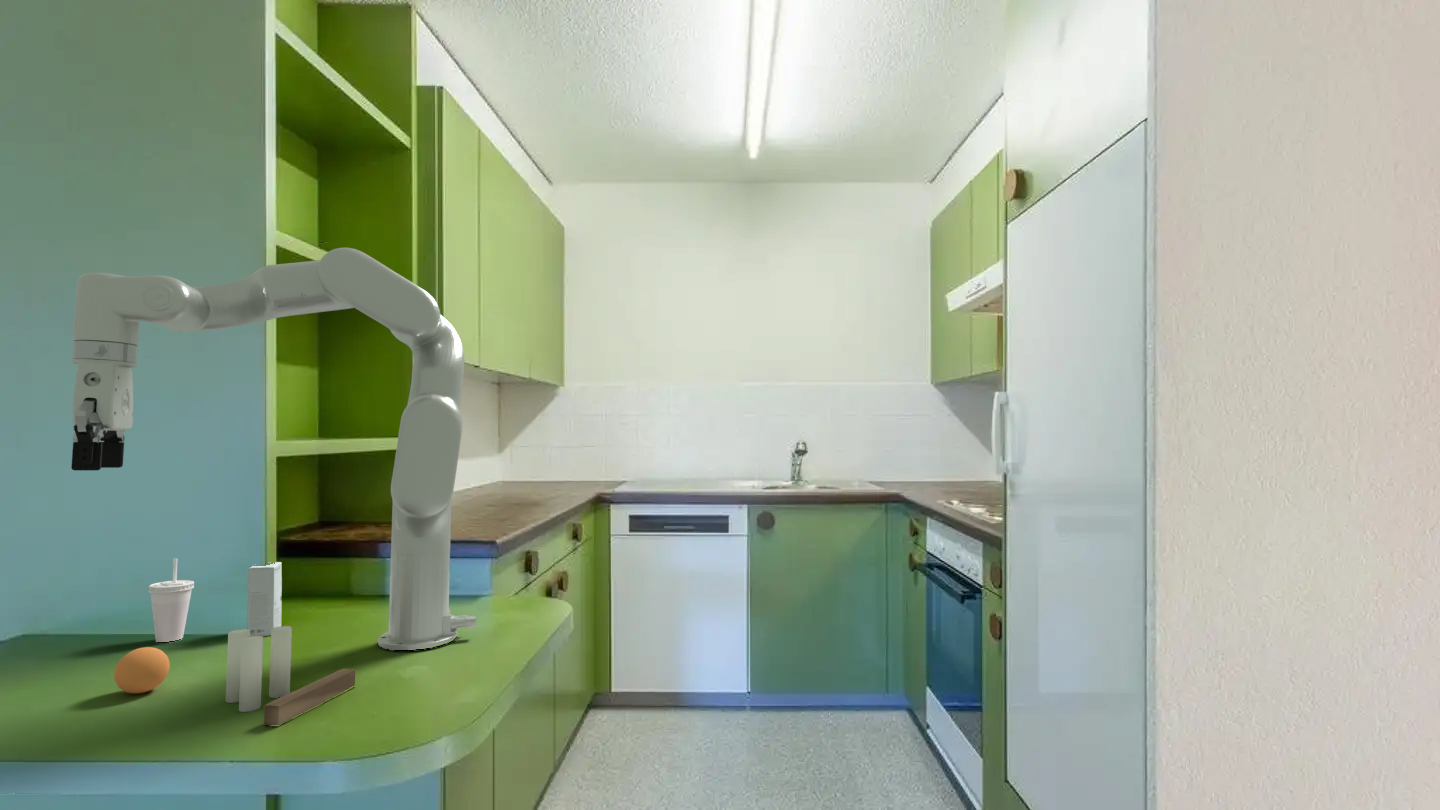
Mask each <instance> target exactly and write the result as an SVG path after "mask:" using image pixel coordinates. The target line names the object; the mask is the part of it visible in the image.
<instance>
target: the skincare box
mask: <svg viewBox="0 0 1440 810" xmlns="http://www.w3.org/2000/svg"><path fill="white" fill-rule="evenodd" d="M274 562H275V564H274V563H273V564H270V565H266V566H253V565H251V566H252V567H251V566H250V567H248V569H247V600H246V601H247V605H246V606H247V609H246V611H247V613H246V614H247V615H246V618H247V619H246V629H248V630H250V634H249V637H250V636H263V637H268V636H269V637H271V629H273V628H275V627H280V626H282V614H283V613H282V611H283V610H282V608H283V607H282V606H283V605H282V602H283V601H282V593H283V592H282V591H283V589H282V588H283V586H282V585H283V577H282V575H283V574H282V572H283V571H282V568H283V567H282V564H283V563H282V561H274Z"/></svg>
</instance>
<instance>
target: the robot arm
mask: <svg viewBox="0 0 1440 810" xmlns="http://www.w3.org/2000/svg"><path fill="white" fill-rule="evenodd" d="M74 307H75V308H74V319H73V321H74V322H73V323H74V324H73V334H72V335H73V337H72V340H73V341H72V350H71V354H72V355H71V364H73V365H77V369H76V371H77V372H76V374H75V376H76V377H75V383H74V390H73V391H74V393H73V399H72V400H73V402H72V424H73V430H74V433H73V436H72V454H71V455H72V456H71V470H72V471H100V470H101V469H102V468H103V469H104V468H105V469H107V468H111V469H114V468H115V469H118V468H122V467H123V466H124V453H125V438H126V437H125V431H128V430H129V431H130V429H132V427H133V424H134V381H133V371H132V368H134V369H135V368H137V367H138V366H137V365H138V353H139V351H138V349H139V334H140V321H141V322H147V323H151V324H154V325H157V326H160V327H164V328H165V329H168V330H171V331H174V332H179V333H180V332H181V333H192V332H193V333H195V332H205V331H211V330H222V329H227V328H234V327H235V328H236V327H239V326H240V327H241V326H245V325H250V324H254V323H260V322H266V321H267V322H268V321H272V320H273V319H274V320H275V319H279V318H284V317H290V316H292V317H293V316H299V315H308V314H316V313H323V312H332V311H341V310H347V309H348V310H349V309H356V310H357V311H359V312H361V313H362V314H364V315H365V316H367V317H369V318H371V319H373V320H374V321H376V322H377V323H380V324H381V325H383V326H384V327H385V328H387V329H389V330H390V332H391V334H392V335H393V336H394V337H395V338H396V339H397V340H398V341H400V342H401V343H403V344H405V345H406V346H408V347H409V349H410V350H411V352H412V357H413V364H412V371H411V381H410V382H411V383H410V390H409V395H408V400H407V405H406V407H405V408H404V410H403V412H402V415H401V418H400V423H399V429H398V439H397V444H396V451H395V457H394V464H393V470H392V476H391V482H390V483H391V484H390V495H391V498H392V509H391V510H392V511H391V512H392V513H391V514H392V515H391V541H390V542H391V545H390V546H391V547H390V568H389V569H390V570H389V571H390V572H389V574H390V575H389V605H388V609H389V610H388V611H389V612H388V614H389V615H388V631H387V632H384V633H383V634H381V635H380V636H379V637H378V641H377V642H378V643H377V644H378V646H379V647H380V648H381V647H382V649H384V650H387V649H389V650H388V651H394V650H408V649H409V650H410V649H419V648H426V647H431V646H437V645H440V644H443V643H446V642H448V641H450V640H452V639H454V638H455V637H456V636H457V637H458V630H457V629H461V628H464V629H466V628H468V629H469V628H476V627H477V616H476V615H470V616H469V614H461V615H455V614H452V613H451V608H450V607H449V606H450V605H449V604H450V567H451V566H450V562H451V529H452V524H451V522H452V521H451V520H452V516H451V515H452V497H453V495H454V494H453V493H454V490H455V489H454V488H455V483H456V482H455V481H456V475H457V470H458V463H459V462H458V461H459V456H460V455H459V454H460V448H461V443H462V442H461V441H462V433H463V418H462V413H461V411H460V409H461V401H462V392H463V383H464V371H465V351H464V345H463V342H462V340H461V338H460V335H459V334H458V332H457V330H456V329H455V327H454V326H453V324H451V322H450V321H448V319H446V317H444V316H443V315H442V314H441V311H440V307H439V304H438V302H437V301H436V299H435V297H433V296H432V294H430V293H429V292H428V291H426V290H425V289H423V288H422V287H420V286H419V285H417V284H415V283H414V282H412V281H411V280H409V279H408V278H406V277H404V276H402V275H401V274H399V273H397V272H395V271H394V270H393V269H391V268H390V267H388V266H386V265H385V264H383V263H382V262H380V261H378V260H377V259H375V258H373V257H371V256H370V255H369V254H366V253H365V252H363V251H361V250H358V249H356V248H351V247H337V248H334V249H331V250H329V251H328V252H327V253H325V254H324V255H323V256H322V257H321V258H320V259H319V260H318V259H317V260H310V261H309V260H308V261H307V260H306V261H300V262H289V263H287V262H286V263H278V264H268V265H265V266H262V267H260V268H258V269H256V271H254V272H253V273H251V274H250V275H249V276H247V277H245V278H241V279H239V280H236V281H235V280H234V281H232V282H226V283H220V284H209V285H201V286H200V285H199V286H190V285H189V284H188V283H187V284H186V283H184V282H183V281H181V280H180V279H177V278H175V277H173V276H170V275H169V276H168V275H137V276H136V275H134V276H133V275H132V276H129V275H128V276H127V275H121V274H115V273H106V272H86V273H83V274H81V275H80V276H79V277H78V279H77V282H76V289H75V304H74Z"/></svg>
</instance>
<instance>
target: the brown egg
mask: <svg viewBox="0 0 1440 810" xmlns="http://www.w3.org/2000/svg"><path fill="white" fill-rule="evenodd" d="M170 666H171V663H170V658H169V657H168V655H167V653H165V652H164V651H162V649H160V648H157V647H152V646H145V647H139V648H136V649H133V650H131V651H129V652H128V653H126V654H125V655H124V656H122V657H121V658H120V659H119V660H118V663H117V664H116V666H115V668H114V672H113V679H114V682H115V684H116V686H117V687H118V688H119V689H120V690H121V691H123V692H125V693H128V694H143V693H147V692H150V691H152V690H154V689H155V688H157V687H159V685H161V684H163V682H164V681H165V680H166V677H168V675H169V672H170Z"/></svg>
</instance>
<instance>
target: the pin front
mask: <svg viewBox="0 0 1440 810" xmlns="http://www.w3.org/2000/svg"><path fill="white" fill-rule="evenodd" d="M249 634H250V630H248V629H247V628H245V629H243V628H242V629H241V628H239V629H235V630H232V631H229V632H228V631H227V635H228V636H227V654H226V655H227V659H226V680H225V681H226V683H225V684H226V685H225V702H226V703H230V704H232V703H239V690H240V663H241V639H243V638H245V637H249Z"/></svg>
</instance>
